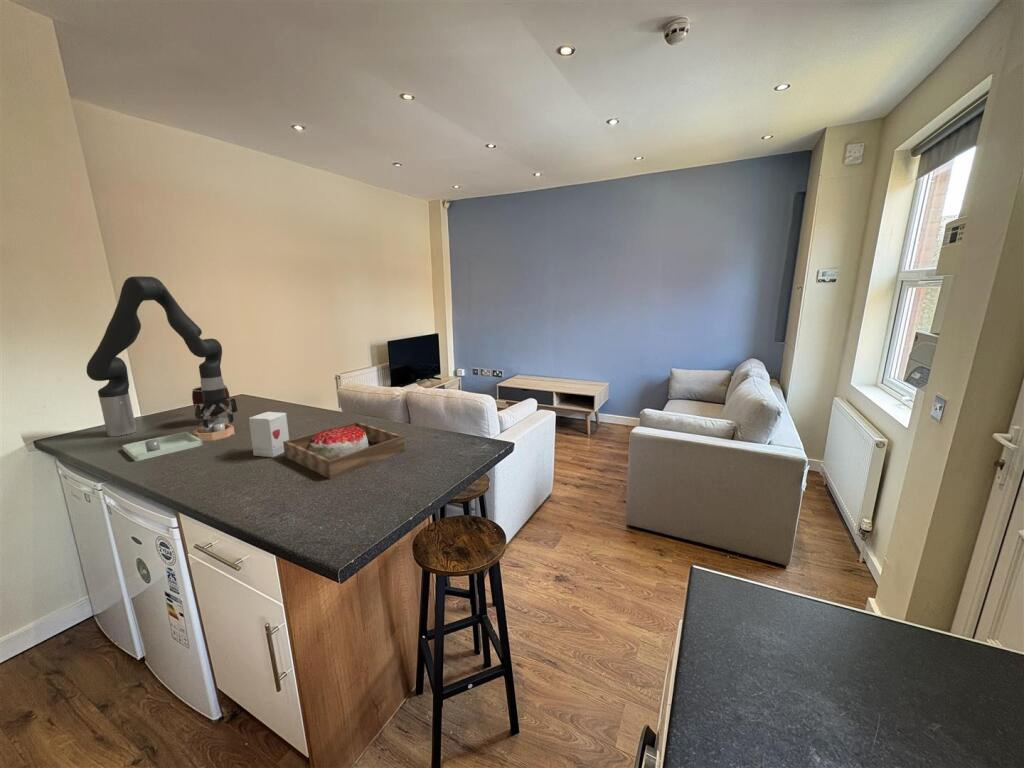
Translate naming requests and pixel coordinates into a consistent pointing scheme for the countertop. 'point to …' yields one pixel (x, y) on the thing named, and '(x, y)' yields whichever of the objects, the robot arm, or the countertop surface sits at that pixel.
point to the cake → (338, 442)
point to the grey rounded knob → (152, 445)
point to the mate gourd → (198, 399)
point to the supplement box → (268, 433)
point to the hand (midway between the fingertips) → (218, 425)
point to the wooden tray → (347, 463)
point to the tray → (162, 446)
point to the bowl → (214, 433)
